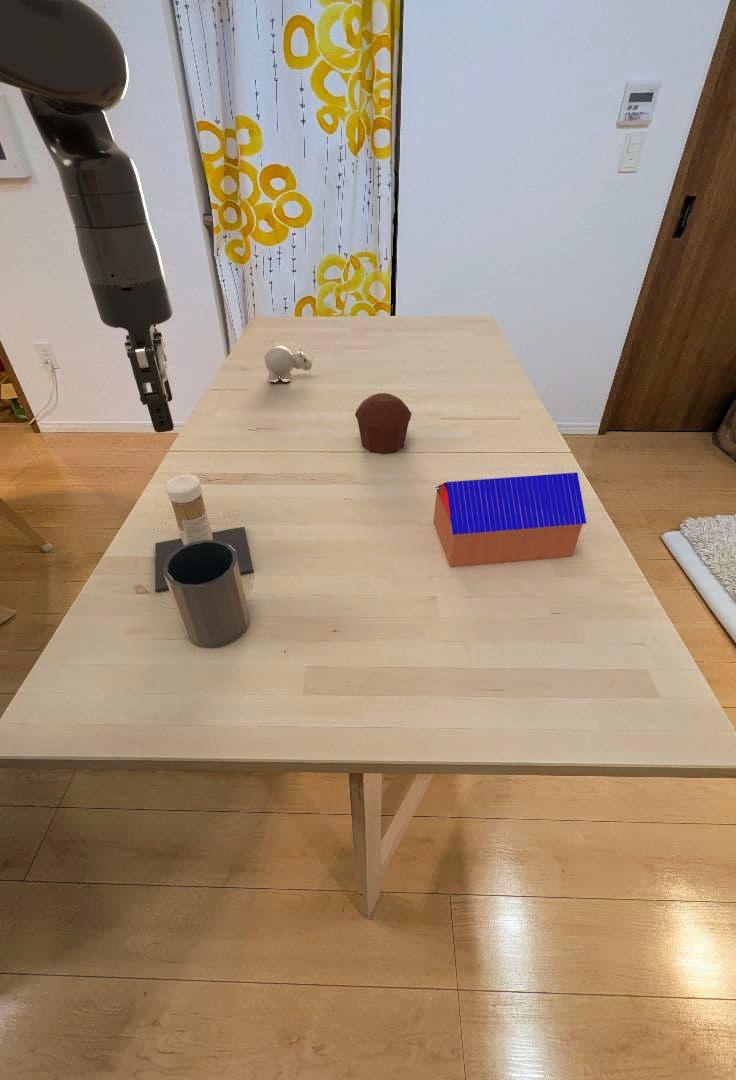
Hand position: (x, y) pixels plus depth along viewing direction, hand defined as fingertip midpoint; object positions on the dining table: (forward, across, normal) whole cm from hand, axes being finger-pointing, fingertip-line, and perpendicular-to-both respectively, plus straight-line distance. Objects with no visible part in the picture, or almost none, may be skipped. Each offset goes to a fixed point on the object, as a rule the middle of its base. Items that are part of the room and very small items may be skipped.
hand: (164, 415), depth 65 cm
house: (+24, +9, +46) cm, 53 cm away
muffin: (+24, -26, +38) cm, 52 cm away
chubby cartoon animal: (+24, -65, +26) cm, 74 cm away
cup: (+24, +14, +1) cm, 28 cm away
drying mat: (+24, 0, 0) cm, 24 cm away
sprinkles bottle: (+24, 0, 0) cm, 24 cm away
